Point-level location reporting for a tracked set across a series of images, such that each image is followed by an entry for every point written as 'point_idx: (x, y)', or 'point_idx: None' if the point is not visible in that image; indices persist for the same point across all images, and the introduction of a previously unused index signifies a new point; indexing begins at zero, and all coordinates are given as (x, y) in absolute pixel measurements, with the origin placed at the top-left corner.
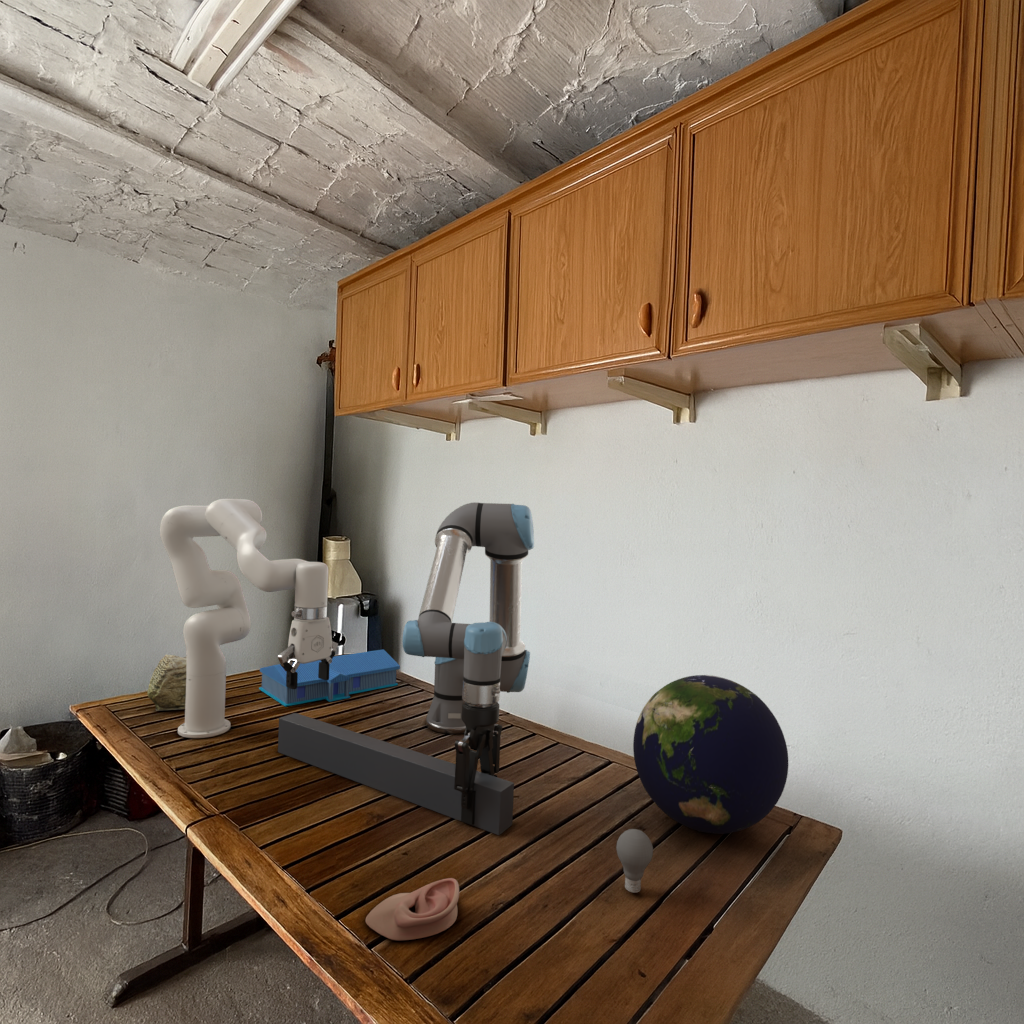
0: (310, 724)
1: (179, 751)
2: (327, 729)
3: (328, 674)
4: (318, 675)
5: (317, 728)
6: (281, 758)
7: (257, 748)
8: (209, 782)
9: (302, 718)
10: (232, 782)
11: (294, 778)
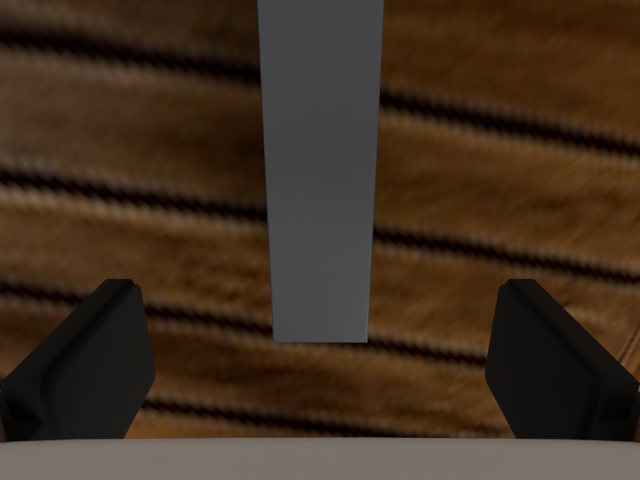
0: (336, 167)
1: None
2: (331, 27)
3: (93, 301)
4: (146, 392)
5: (356, 88)
6: (382, 223)
7: (371, 340)
8: (633, 245)
9: (303, 263)
10: (604, 192)
11: (482, 43)
